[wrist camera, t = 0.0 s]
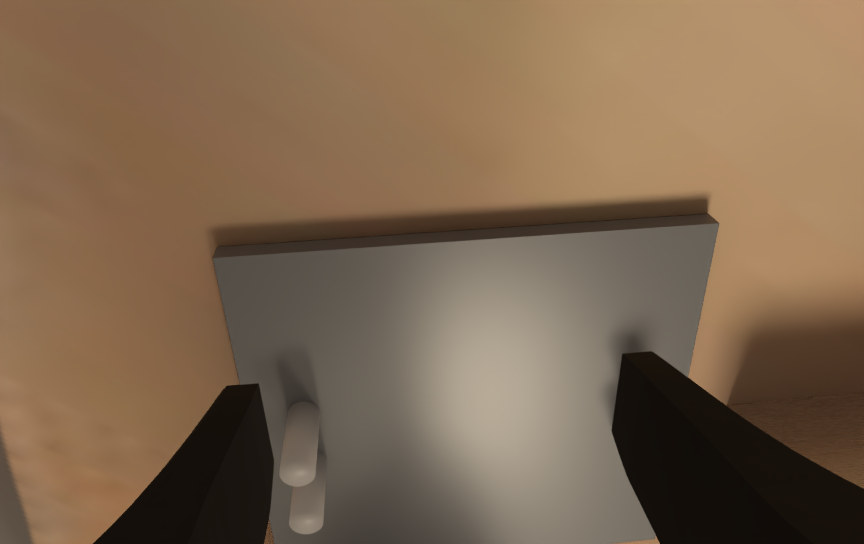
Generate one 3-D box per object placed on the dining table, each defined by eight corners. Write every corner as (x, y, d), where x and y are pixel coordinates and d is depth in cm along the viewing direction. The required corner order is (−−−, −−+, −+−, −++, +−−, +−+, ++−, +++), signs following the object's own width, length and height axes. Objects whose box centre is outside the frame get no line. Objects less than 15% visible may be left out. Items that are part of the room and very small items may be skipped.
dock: (648, 524, 31) (682, 598, 28) (283, 561, 30) (274, 643, 26) (708, 213, 23) (767, 264, 20) (217, 246, 22) (191, 306, 19)
